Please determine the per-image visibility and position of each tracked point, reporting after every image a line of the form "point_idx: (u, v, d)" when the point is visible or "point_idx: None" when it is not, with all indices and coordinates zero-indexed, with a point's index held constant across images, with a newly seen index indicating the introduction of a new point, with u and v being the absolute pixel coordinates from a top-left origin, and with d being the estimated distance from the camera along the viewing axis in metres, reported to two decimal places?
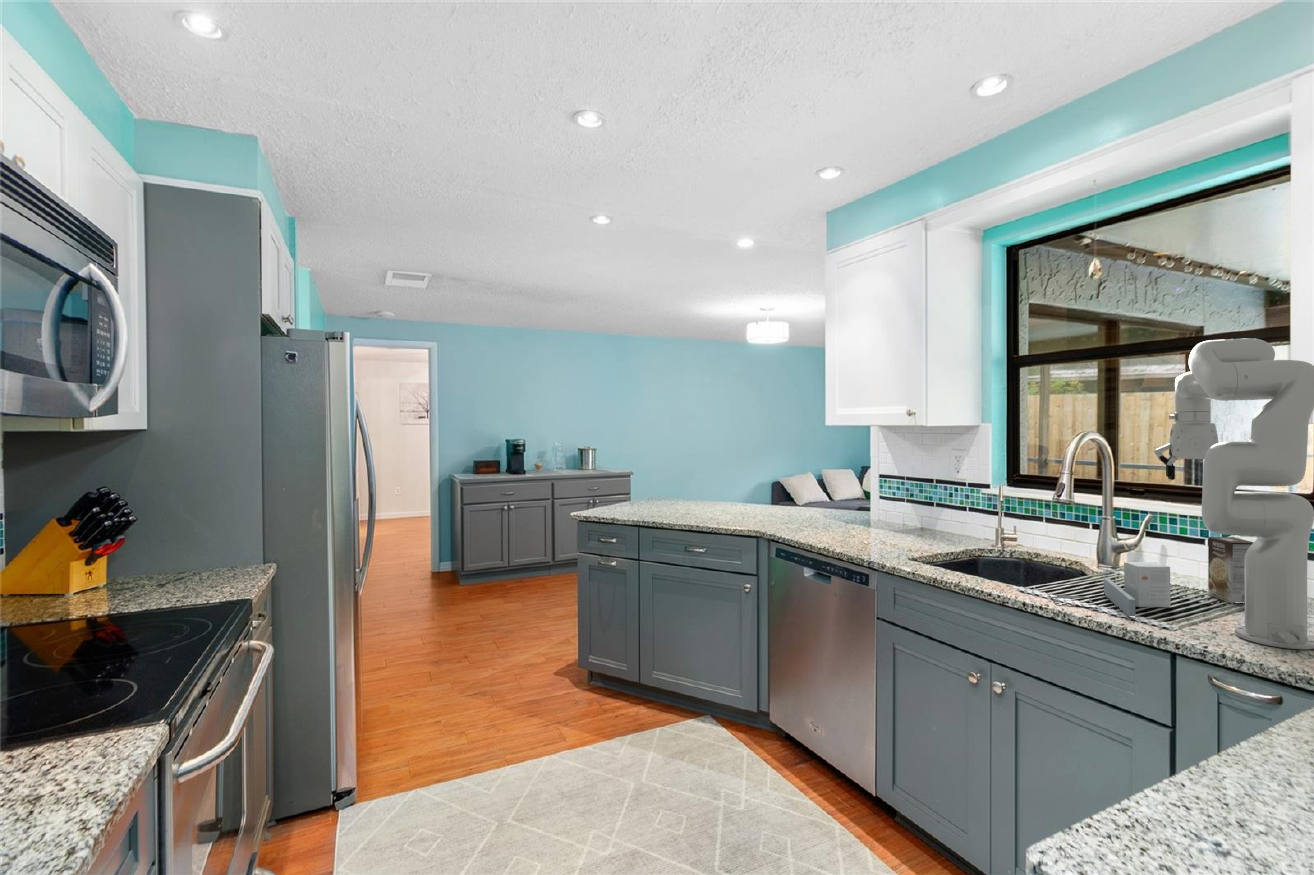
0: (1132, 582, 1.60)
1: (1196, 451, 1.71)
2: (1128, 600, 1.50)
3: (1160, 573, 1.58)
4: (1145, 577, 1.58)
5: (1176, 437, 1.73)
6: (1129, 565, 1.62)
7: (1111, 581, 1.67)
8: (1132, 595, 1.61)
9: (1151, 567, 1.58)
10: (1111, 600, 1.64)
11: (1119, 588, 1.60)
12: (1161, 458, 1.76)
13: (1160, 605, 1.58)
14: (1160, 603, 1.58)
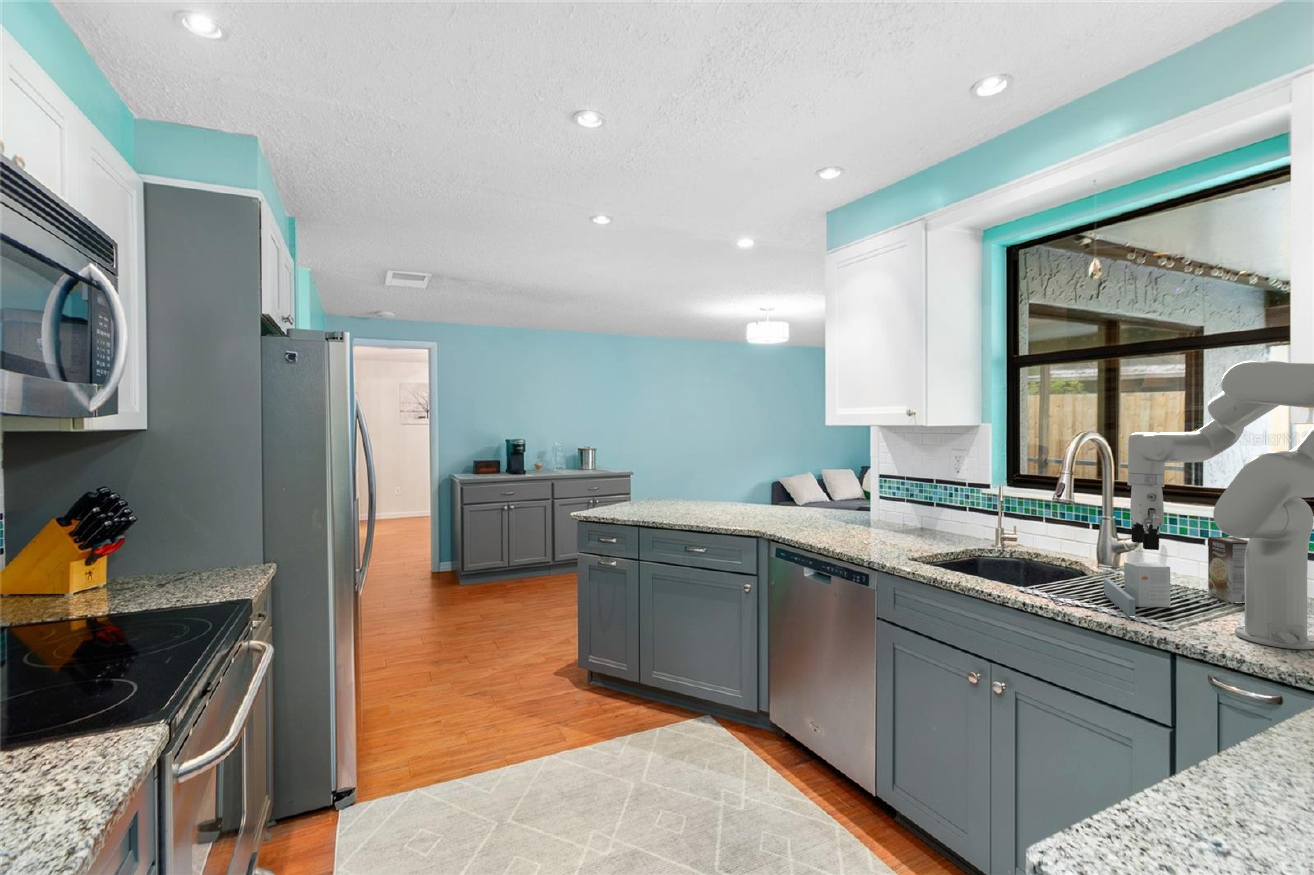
0: (1132, 582, 1.60)
1: None
2: (1128, 600, 1.50)
3: (1160, 573, 1.58)
4: (1145, 577, 1.58)
5: None
6: (1129, 565, 1.62)
7: (1111, 581, 1.67)
8: (1132, 595, 1.61)
9: (1151, 567, 1.58)
10: (1111, 600, 1.64)
11: (1119, 588, 1.60)
12: (1158, 527, 1.54)
13: (1160, 605, 1.58)
14: (1160, 603, 1.58)
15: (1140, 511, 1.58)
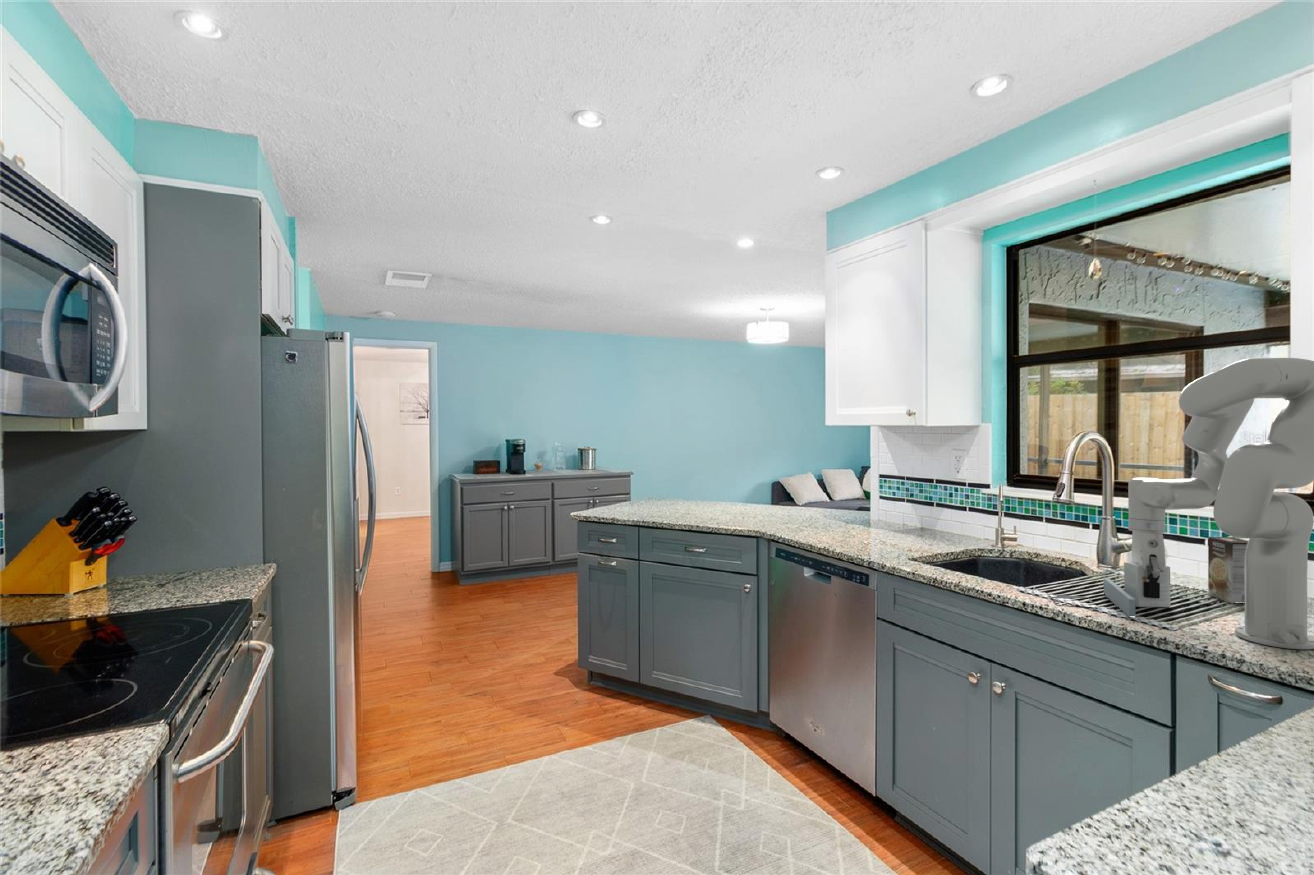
0: (1132, 581, 1.60)
1: None
2: (1128, 600, 1.50)
3: (1160, 573, 1.58)
4: None
5: (1164, 548, 1.56)
6: (1129, 565, 1.62)
7: (1111, 581, 1.67)
8: (1132, 595, 1.61)
9: None
10: (1111, 600, 1.64)
11: (1119, 588, 1.60)
12: (1158, 576, 1.55)
13: (1160, 605, 1.58)
14: (1160, 603, 1.58)
15: (1141, 557, 1.58)
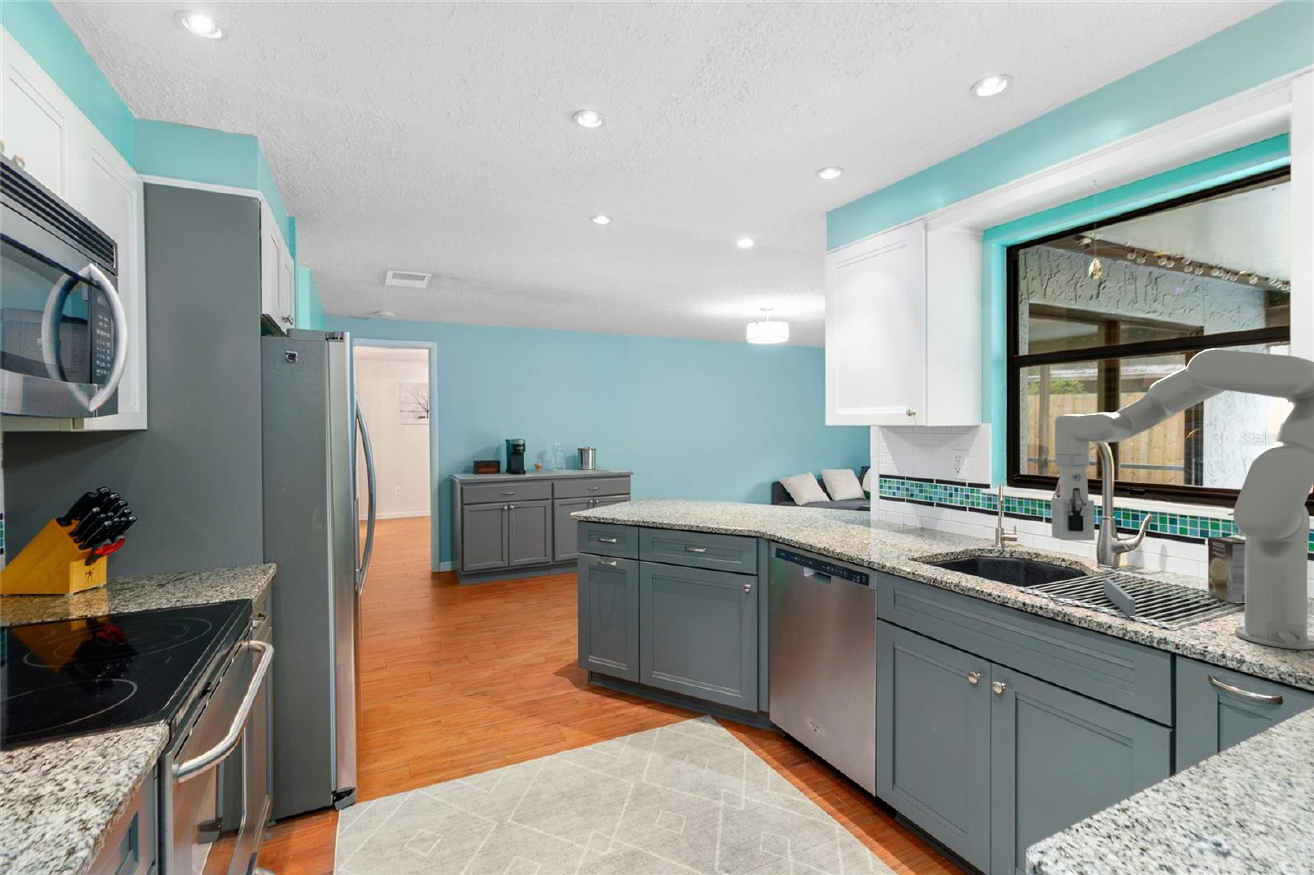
0: (1058, 516, 1.64)
1: None
2: (1128, 600, 1.50)
3: (1084, 507, 1.61)
4: None
5: None
6: (1055, 501, 1.65)
7: (1111, 581, 1.67)
8: (1058, 529, 1.64)
9: None
10: (1111, 600, 1.64)
11: (1119, 588, 1.60)
12: (1081, 509, 1.58)
13: (1084, 538, 1.61)
14: (1085, 536, 1.61)
15: (1066, 491, 1.61)
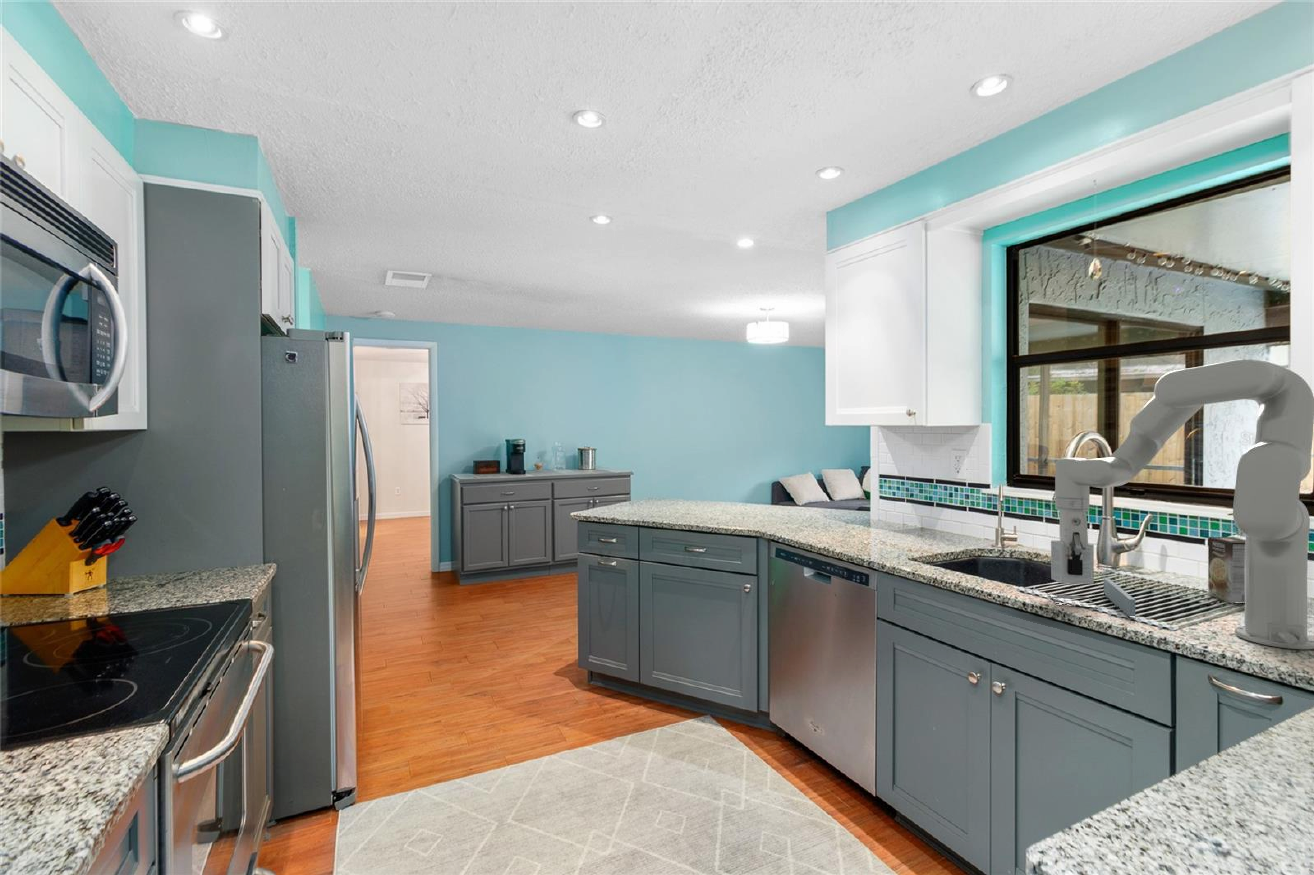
0: (1057, 559, 1.64)
1: None
2: (1128, 600, 1.50)
3: (1083, 551, 1.61)
4: None
5: None
6: (1055, 543, 1.65)
7: (1111, 581, 1.67)
8: (1057, 572, 1.64)
9: None
10: (1111, 600, 1.64)
11: (1119, 588, 1.60)
12: (1080, 553, 1.58)
13: (1083, 582, 1.61)
14: (1084, 580, 1.61)
15: (1065, 535, 1.61)
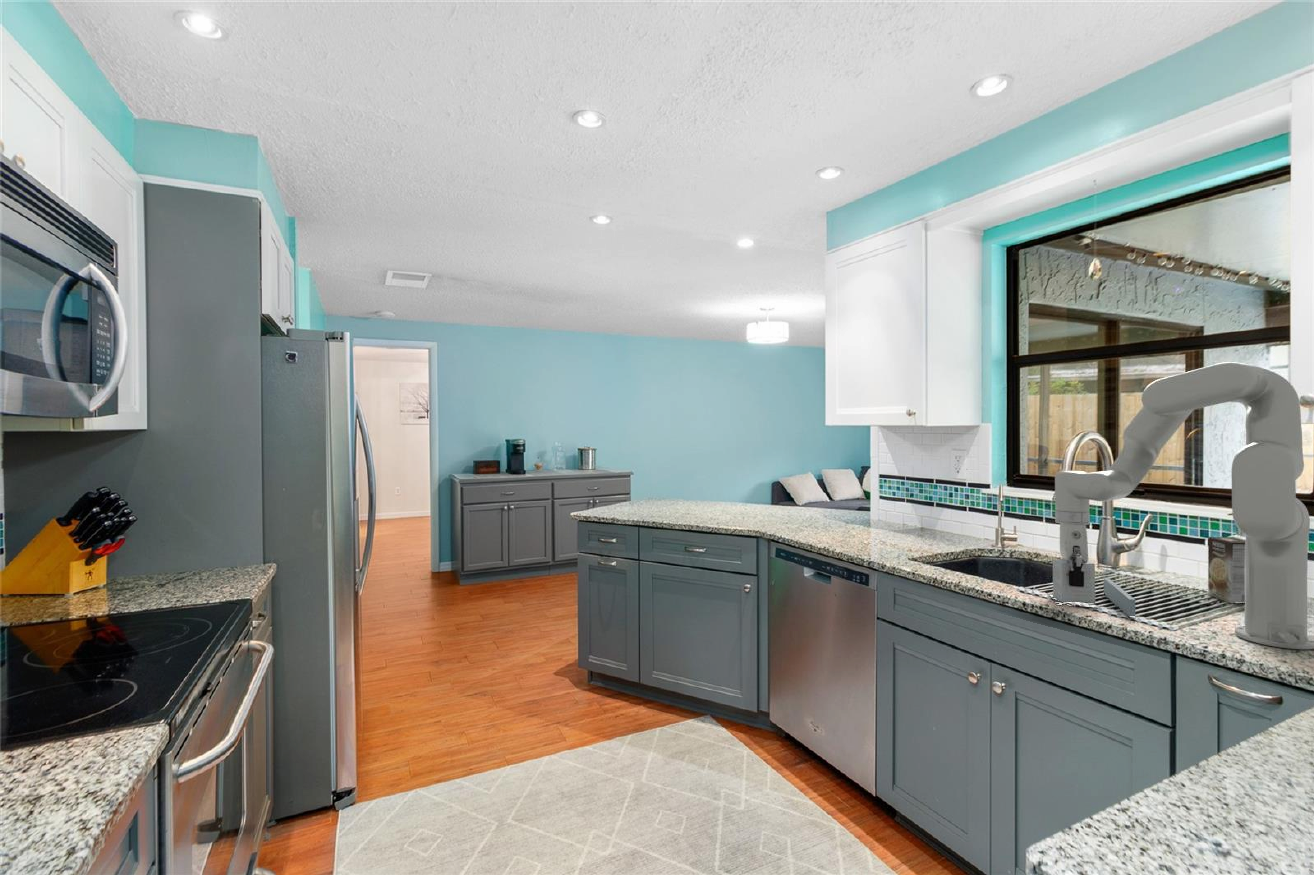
0: (1058, 578, 1.64)
1: None
2: (1128, 600, 1.50)
3: (1084, 570, 1.61)
4: None
5: None
6: (1056, 562, 1.65)
7: (1111, 581, 1.67)
8: (1058, 591, 1.64)
9: None
10: (1111, 600, 1.64)
11: (1119, 588, 1.60)
12: (1082, 565, 1.57)
13: (1084, 601, 1.61)
14: (1085, 599, 1.61)
15: (1066, 548, 1.61)
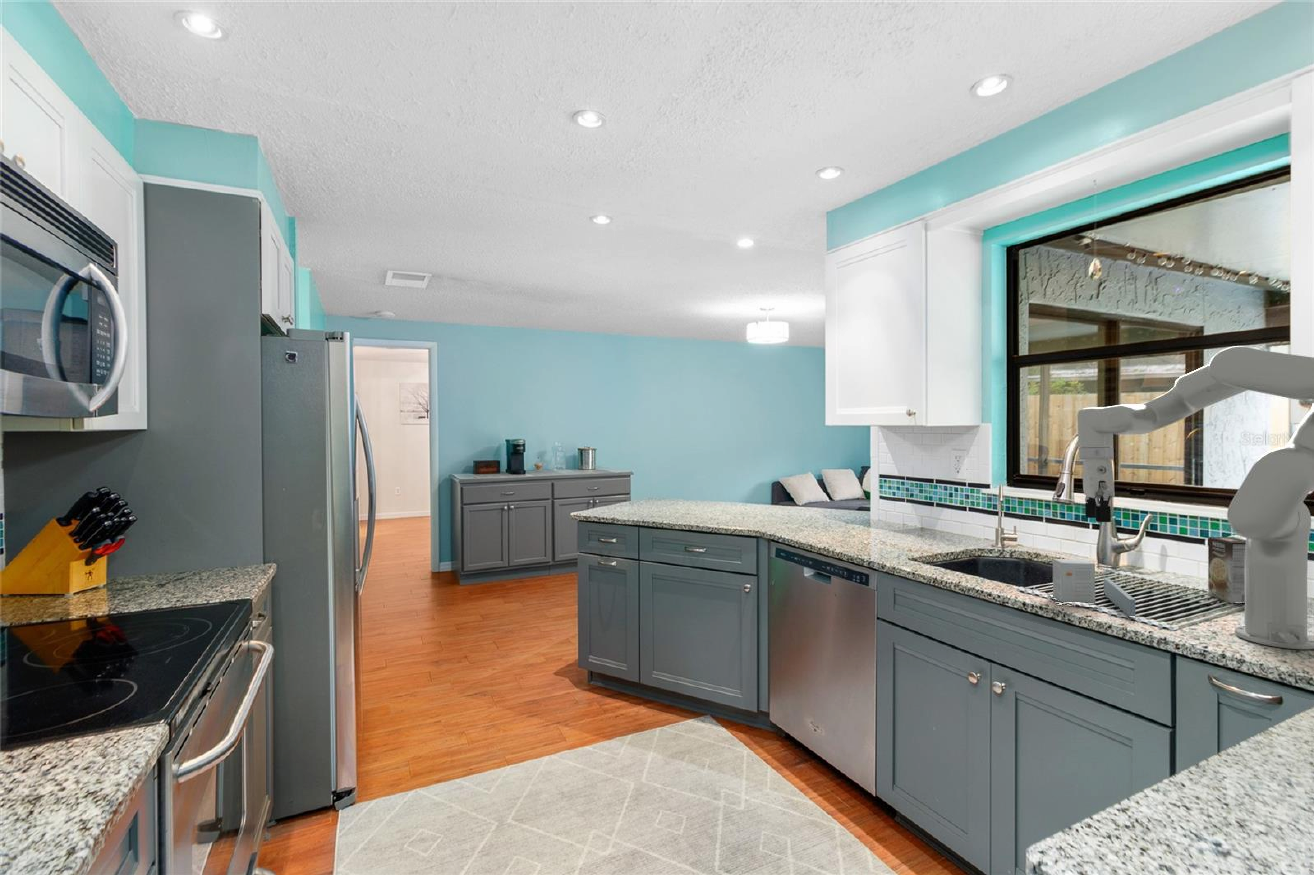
0: (1058, 578, 1.64)
1: None
2: (1128, 600, 1.50)
3: (1084, 570, 1.61)
4: (1069, 573, 1.62)
5: (1112, 474, 1.58)
6: (1056, 562, 1.65)
7: (1111, 581, 1.67)
8: (1058, 591, 1.64)
9: (1075, 564, 1.61)
10: (1111, 600, 1.64)
11: (1119, 588, 1.60)
12: (1109, 499, 1.56)
13: (1084, 601, 1.61)
14: (1085, 599, 1.61)
15: (1091, 484, 1.60)
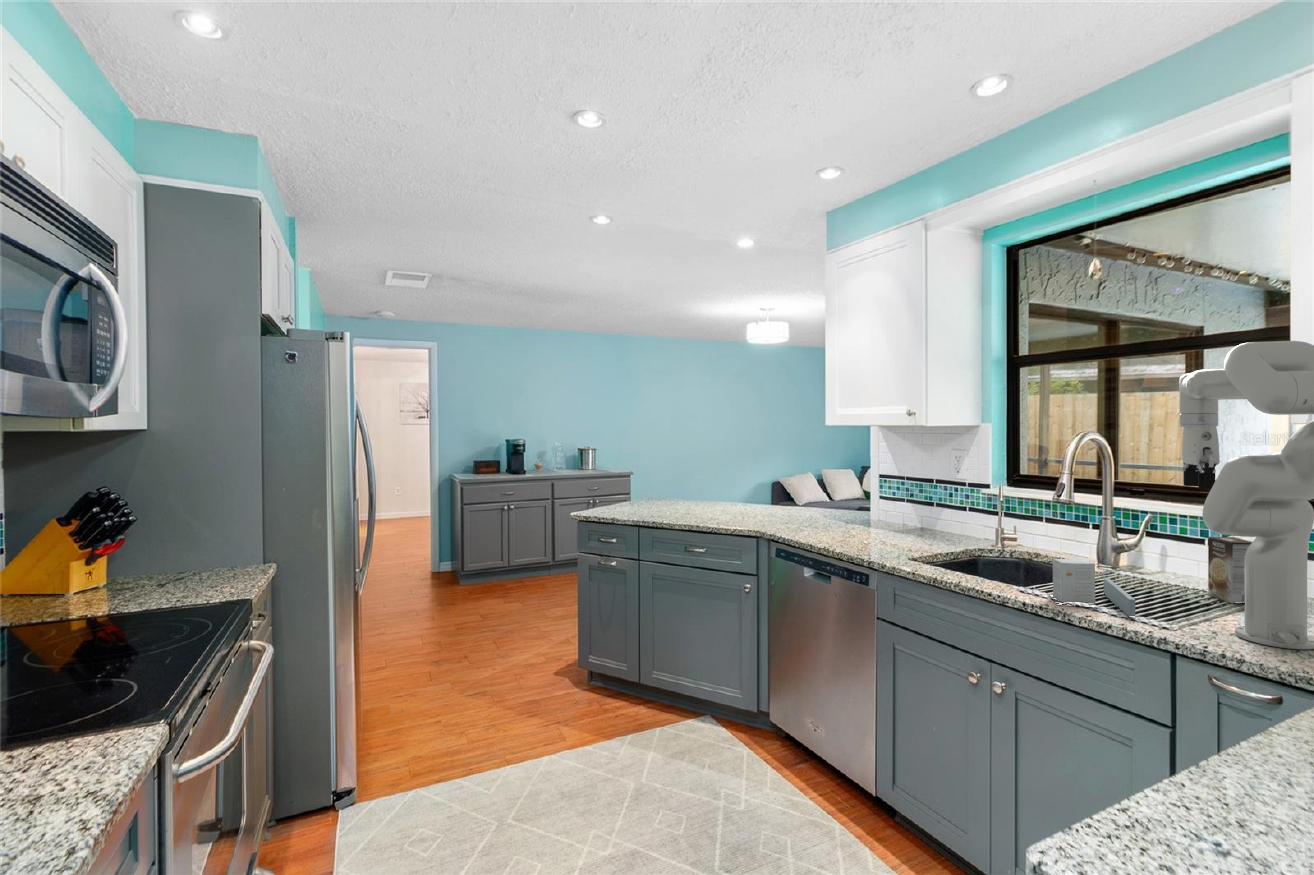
0: (1058, 578, 1.64)
1: None
2: (1128, 600, 1.50)
3: (1084, 570, 1.61)
4: (1069, 573, 1.62)
5: (1218, 441, 1.55)
6: (1056, 562, 1.65)
7: (1111, 581, 1.67)
8: (1058, 591, 1.64)
9: (1075, 564, 1.61)
10: (1111, 600, 1.64)
11: (1119, 588, 1.60)
12: (1214, 465, 1.53)
13: (1084, 601, 1.61)
14: (1085, 599, 1.61)
15: (1194, 451, 1.57)
